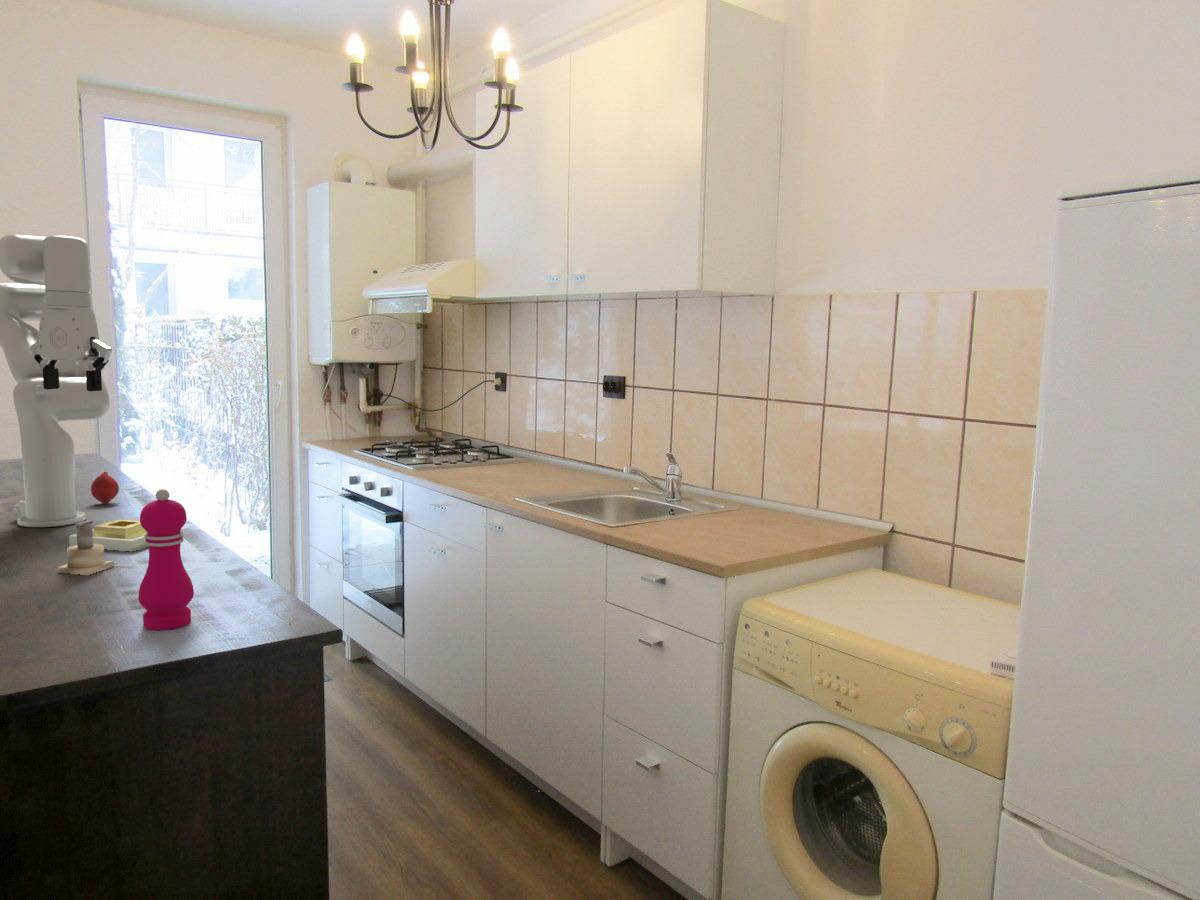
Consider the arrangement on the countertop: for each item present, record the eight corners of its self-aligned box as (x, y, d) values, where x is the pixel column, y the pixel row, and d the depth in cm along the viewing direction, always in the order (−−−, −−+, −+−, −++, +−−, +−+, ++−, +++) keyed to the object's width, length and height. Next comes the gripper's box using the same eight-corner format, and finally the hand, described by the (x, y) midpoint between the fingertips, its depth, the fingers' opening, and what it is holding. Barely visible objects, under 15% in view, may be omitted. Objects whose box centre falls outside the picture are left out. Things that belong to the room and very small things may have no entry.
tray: (69, 546, 164) (68, 535, 164) (122, 531, 178) (122, 521, 177) (132, 552, 162) (132, 541, 161) (181, 536, 175) (181, 525, 175)
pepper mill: (152, 615, 127) (147, 484, 124) (202, 615, 127) (198, 485, 125) (130, 631, 120) (124, 493, 117) (183, 631, 120) (178, 494, 118)
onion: (106, 506, 201) (105, 473, 200) (85, 505, 202) (84, 472, 201) (124, 502, 207) (123, 470, 206) (104, 500, 208) (103, 469, 207)
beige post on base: (58, 572, 147) (55, 524, 146) (85, 563, 153) (82, 517, 152) (88, 575, 146) (85, 526, 145) (113, 566, 152) (111, 519, 150)
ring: (94, 541, 166) (93, 526, 165) (127, 531, 175) (127, 517, 174) (125, 543, 164) (125, 528, 164) (157, 533, 173) (157, 519, 173)
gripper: (13, 299, 161) (18, 389, 163) (92, 301, 158) (96, 392, 160) (45, 301, 168) (50, 387, 171) (121, 303, 165) (125, 390, 167)
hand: (72, 389), depth 165 cm, fingers open, 9 cm apart
